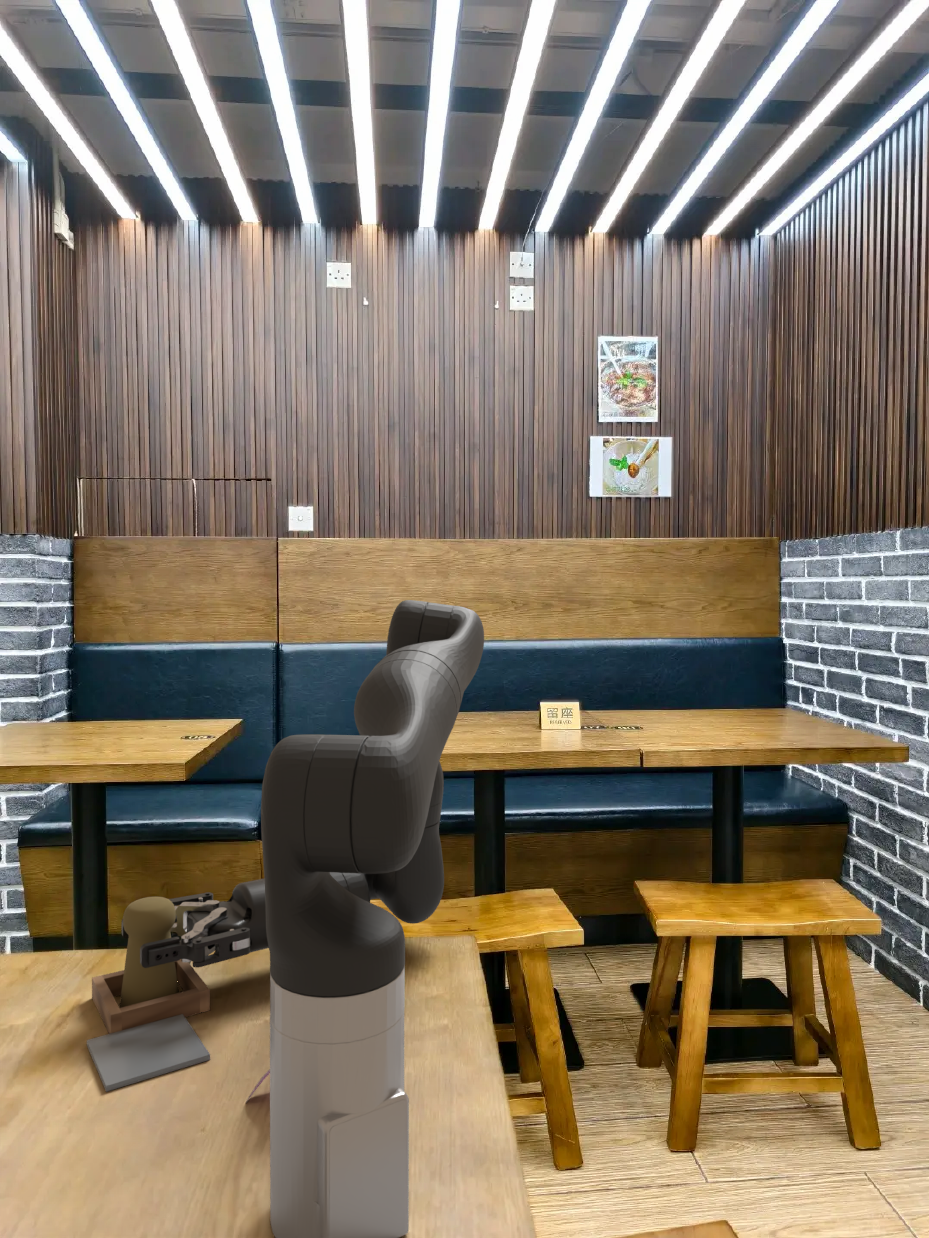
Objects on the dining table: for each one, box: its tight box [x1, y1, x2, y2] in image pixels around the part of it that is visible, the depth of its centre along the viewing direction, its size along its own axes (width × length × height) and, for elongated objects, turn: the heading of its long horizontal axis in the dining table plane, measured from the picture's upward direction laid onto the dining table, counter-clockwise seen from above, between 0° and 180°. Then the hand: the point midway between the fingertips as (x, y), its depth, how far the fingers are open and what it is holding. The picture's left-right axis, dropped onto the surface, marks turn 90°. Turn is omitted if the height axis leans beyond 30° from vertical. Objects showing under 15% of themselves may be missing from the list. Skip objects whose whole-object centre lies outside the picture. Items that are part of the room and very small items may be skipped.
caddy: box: [91, 959, 211, 1034], centre depth 87 cm, size 10×10×2 cm
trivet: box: [86, 1014, 211, 1092], centre depth 78 cm, size 9×9×1 cm
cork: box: [118, 896, 180, 1008], centre depth 87 cm, size 6×6×11 cm
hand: (131, 941), depth 86 cm, fingers open, 8 cm apart
